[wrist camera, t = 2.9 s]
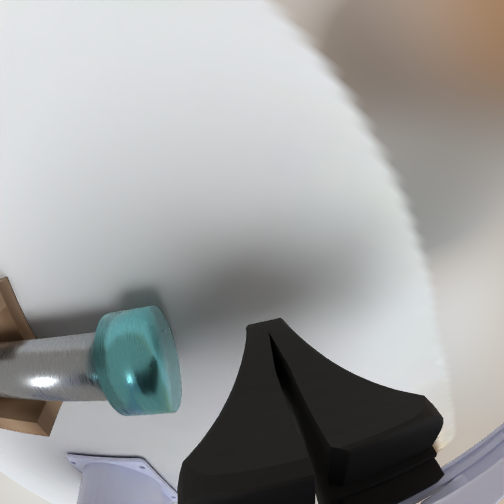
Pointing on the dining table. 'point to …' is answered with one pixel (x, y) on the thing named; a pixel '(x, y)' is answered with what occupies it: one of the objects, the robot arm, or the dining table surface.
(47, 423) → the housing
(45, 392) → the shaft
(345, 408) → the robot arm
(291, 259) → the dining table surface
